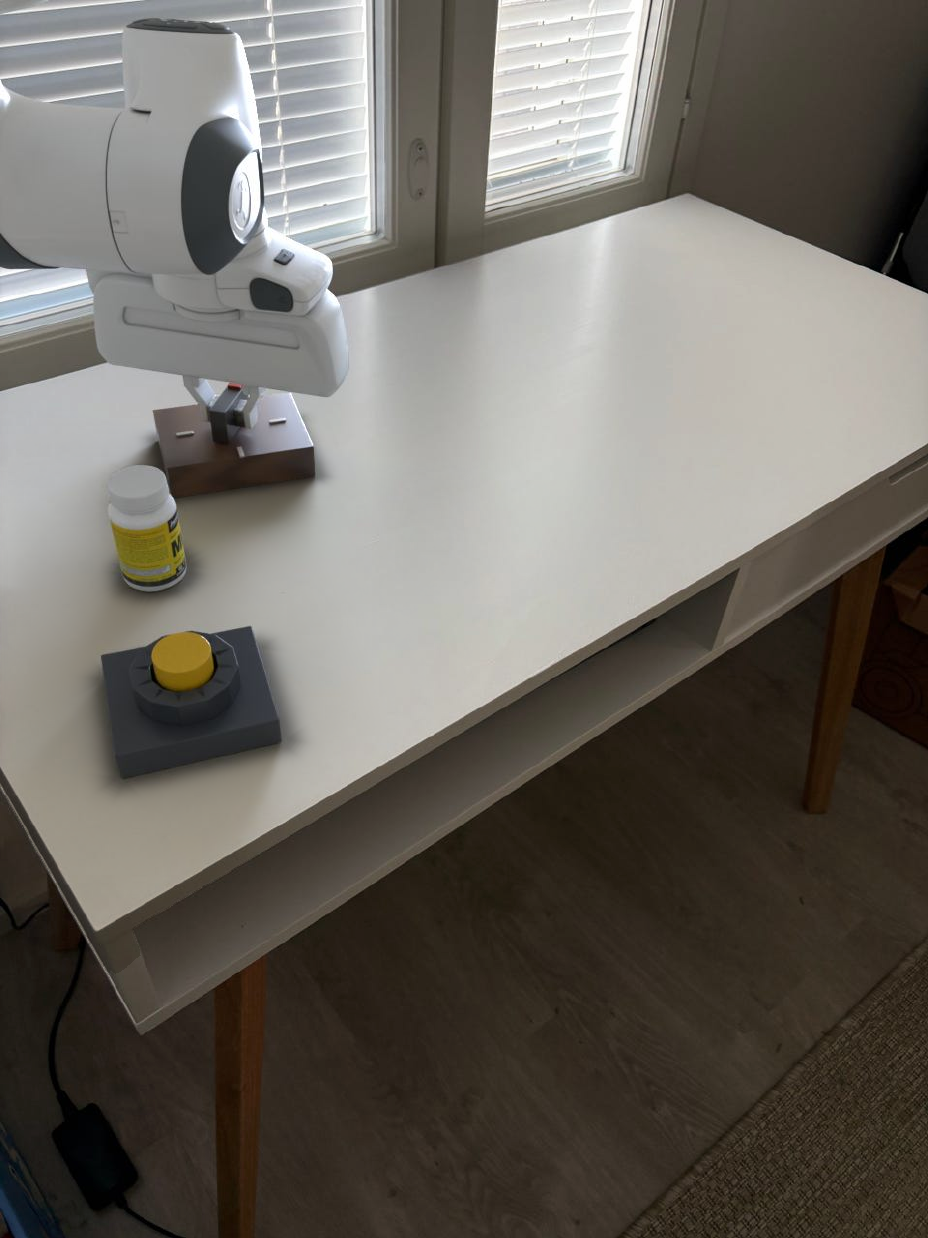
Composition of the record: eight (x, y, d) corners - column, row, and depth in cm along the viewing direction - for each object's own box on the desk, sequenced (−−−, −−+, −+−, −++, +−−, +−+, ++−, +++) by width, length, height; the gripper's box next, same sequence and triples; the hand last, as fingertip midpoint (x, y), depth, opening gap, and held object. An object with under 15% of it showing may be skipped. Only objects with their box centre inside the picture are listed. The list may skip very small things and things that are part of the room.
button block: (120, 779, 62) (108, 737, 59) (106, 677, 68) (95, 635, 65) (282, 742, 65) (277, 700, 62) (254, 647, 71) (249, 605, 68)
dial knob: (228, 444, 84) (224, 410, 81) (212, 441, 84) (208, 407, 82) (250, 413, 87) (246, 380, 85) (235, 410, 87) (231, 377, 85)
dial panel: (172, 499, 83) (166, 467, 81) (157, 438, 89) (151, 407, 87) (315, 476, 86) (314, 445, 84) (291, 420, 92) (289, 389, 90)
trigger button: (159, 697, 62) (155, 678, 61) (152, 657, 65) (147, 638, 63) (218, 685, 63) (215, 665, 62) (208, 646, 66) (205, 626, 65)
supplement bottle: (190, 588, 75) (174, 496, 69) (124, 598, 74) (103, 505, 68) (183, 548, 78) (167, 457, 73) (120, 557, 77) (99, 465, 71)
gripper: (61, 260, 75) (98, 422, 84) (327, 297, 72) (334, 460, 82) (100, 228, 79) (131, 385, 89) (352, 262, 77) (356, 420, 86)
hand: (231, 421), depth 85 cm, fingers closed on dial knob
